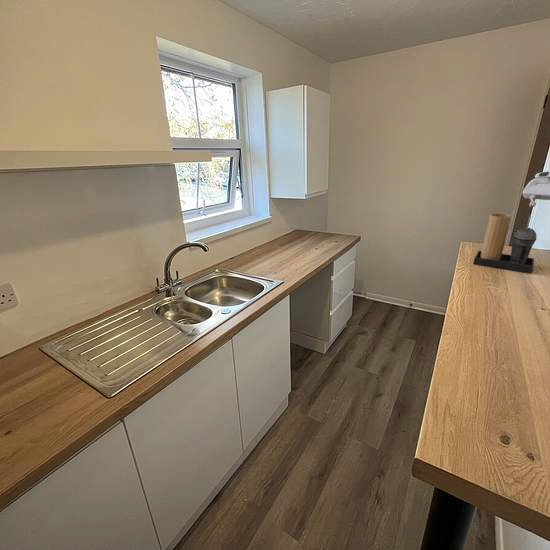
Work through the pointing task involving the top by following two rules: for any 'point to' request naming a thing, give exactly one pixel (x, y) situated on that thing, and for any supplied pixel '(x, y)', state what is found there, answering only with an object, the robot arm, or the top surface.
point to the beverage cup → (522, 244)
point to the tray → (505, 263)
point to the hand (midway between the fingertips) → (545, 207)
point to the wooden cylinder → (495, 236)
